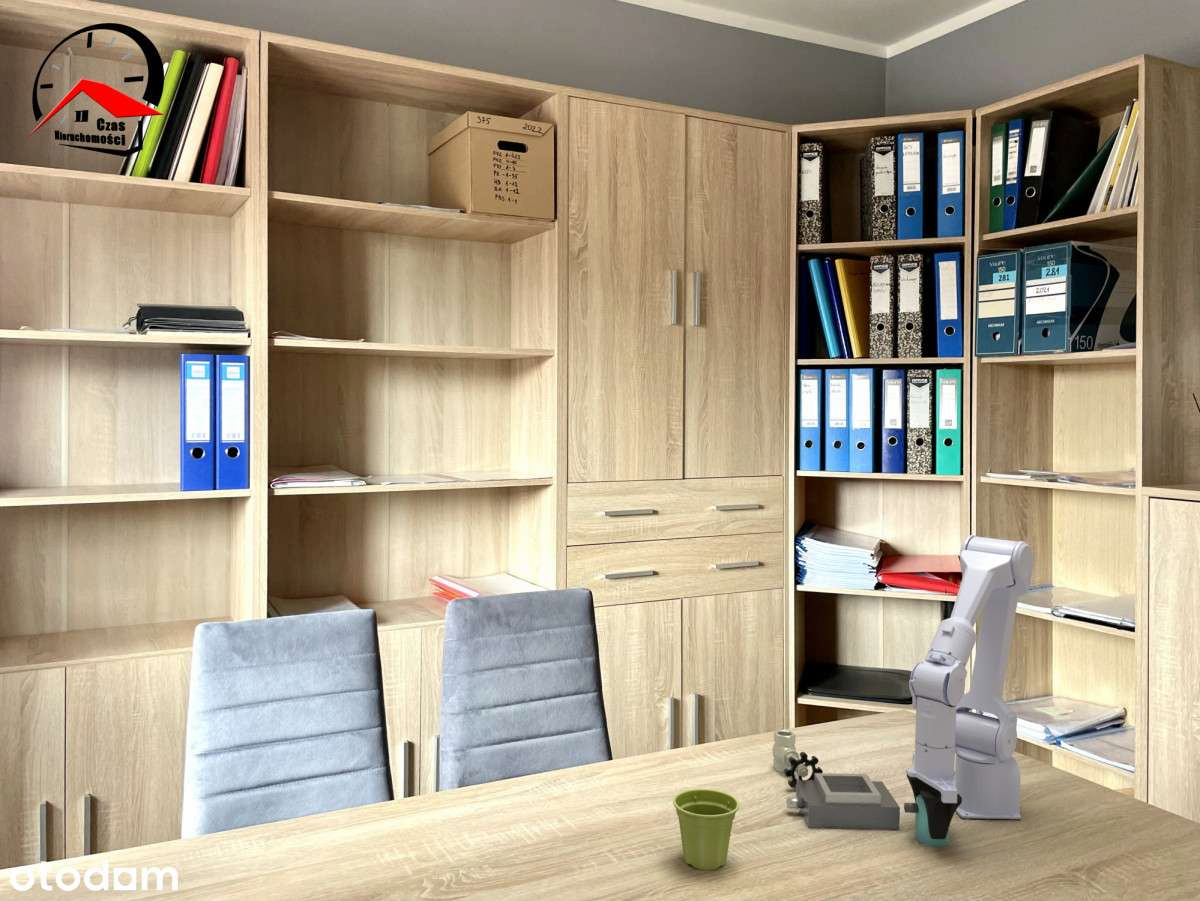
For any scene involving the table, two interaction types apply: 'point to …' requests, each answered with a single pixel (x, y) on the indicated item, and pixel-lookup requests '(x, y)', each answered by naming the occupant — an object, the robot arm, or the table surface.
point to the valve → (791, 758)
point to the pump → (923, 823)
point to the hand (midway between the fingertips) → (931, 829)
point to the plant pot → (705, 826)
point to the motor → (845, 802)
